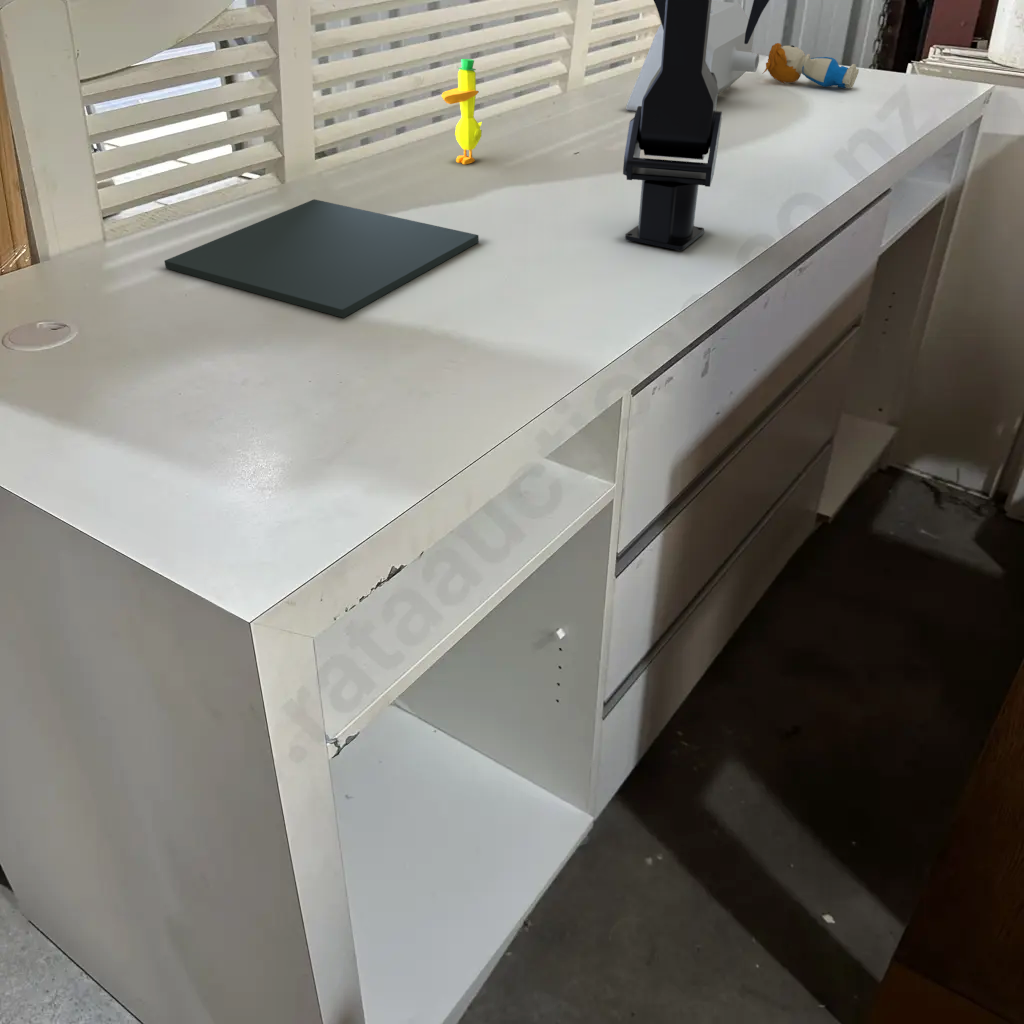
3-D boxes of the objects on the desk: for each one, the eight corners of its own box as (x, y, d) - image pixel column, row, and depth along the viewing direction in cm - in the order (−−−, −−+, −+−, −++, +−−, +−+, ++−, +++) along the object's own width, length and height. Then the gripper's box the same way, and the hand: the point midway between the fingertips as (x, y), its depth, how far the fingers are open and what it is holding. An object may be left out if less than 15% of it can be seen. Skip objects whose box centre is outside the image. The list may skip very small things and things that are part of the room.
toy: (854, 50, 149) (764, 30, 155) (839, 91, 151) (751, 69, 157) (864, 68, 160) (779, 48, 165) (850, 106, 162) (766, 85, 167)
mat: (343, 318, 83) (342, 309, 83) (165, 268, 92) (163, 260, 92) (478, 242, 99) (478, 234, 98) (314, 206, 108) (314, 198, 107)
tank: (726, 124, 138) (739, 29, 131) (623, 112, 144) (630, 20, 137) (771, 90, 156) (784, 5, 149) (677, 80, 162) (686, -3, 155)
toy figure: (456, 170, 119) (453, 66, 112) (435, 164, 121) (431, 62, 114) (492, 159, 123) (491, 57, 116) (472, 153, 125) (470, 54, 118)
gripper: (814, -129, 106) (791, 20, 117) (647, -132, 110) (640, 13, 121) (810, -103, 99) (785, 54, 110) (631, -106, 102) (625, 46, 114)
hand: (707, 40), depth 114 cm, fingers open, 9 cm apart
